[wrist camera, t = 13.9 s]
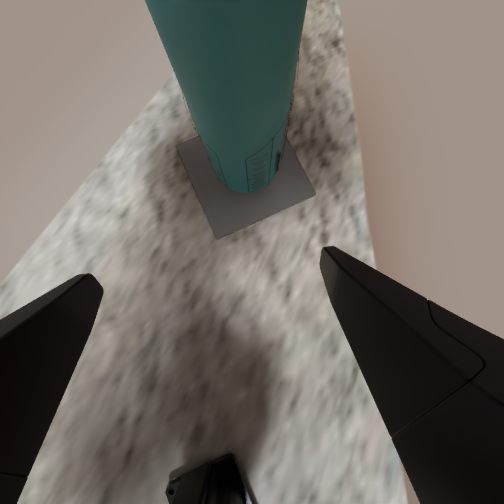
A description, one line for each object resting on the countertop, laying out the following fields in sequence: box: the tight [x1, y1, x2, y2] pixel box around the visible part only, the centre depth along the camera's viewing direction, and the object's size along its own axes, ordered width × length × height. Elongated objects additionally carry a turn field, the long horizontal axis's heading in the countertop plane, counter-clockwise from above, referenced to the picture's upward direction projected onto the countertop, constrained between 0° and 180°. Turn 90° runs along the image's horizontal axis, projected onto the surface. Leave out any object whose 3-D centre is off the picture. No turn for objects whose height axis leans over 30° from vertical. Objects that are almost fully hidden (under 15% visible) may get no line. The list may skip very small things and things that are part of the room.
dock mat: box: [176, 136, 316, 239], centre depth 21 cm, size 11×11×1 cm
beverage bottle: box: [145, 0, 307, 193], centre depth 11 cm, size 6×7×20 cm
